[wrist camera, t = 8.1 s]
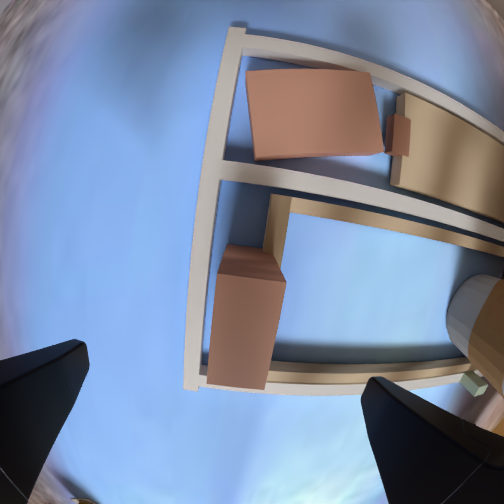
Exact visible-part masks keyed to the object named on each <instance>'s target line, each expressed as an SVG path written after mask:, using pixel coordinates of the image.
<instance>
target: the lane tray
mask: <svg viewBox="0 0 504 504" xmlns="http://www.w3.org/2000/svg"><path fill="white" fill-rule="evenodd" d="M242 56H249V57H257V58H264V59H271V60H277V61H283V62H289V63H294V64H299V65H304V66H308V67H313V68H317V69H330V70H347V71H359V72H368V73H370V75H371V80H372V84H373V85H376V86H378V87H381V88H384V89H387V90H389V91H392V92H395V93H397V94H400V95H402V94H403V93H408V94H410V95H412V96H415V97H417V98H419V99H421V100H424V101H426V102H428V103H430V104H432V105H434V106H436V107H438V108H440V109H442V110H444V111H446V112H448V113H450V114H452V115H454V116H456V117H458V118H459V119H461V120H463V121H465V122H466V123H468V124H470V125H472V126H473V127H475V128H477V129H478V130H480V131H482V132H483V133H485V134H486V135H488V136H489V137H491V138H493V139H494V140H496V141H497V142H498V143H500V144H501V145H503V146H504V131H502V130H501V129H499V128H498V127H497V126H495V125H494V124H492V123H491V122H489V121H488V120H486V119H485V118H483V117H482V116H480V115H479V114H477V113H476V112H474V111H473V110H471V109H469V108H468V107H466V106H464V105H463V104H461V103H459V102H457V101H456V100H454V99H452V98H450V97H448V96H447V95H445V94H443V93H441V92H439V91H437V90H435V89H433V88H431V87H429V86H427V85H425V84H423V83H421V82H419V81H417V80H414V79H412V78H410V77H408V76H405V75H403V74H401V73H398V72H396V71H393V70H391V69H388V68H386V67H383V66H380V65H378V64H375V63H372V62H369V61H366V60H363V59H360V58H357V57H354V56H351V55H347V54H344V53H341V52H337V51H333V50H330V49H326V48H322V47H318V46H313V45H309V44H304V43H300V42H295V41H289V40H284V39H278V38H272V37H265V36H257V35H248V34H246V28H240V27H229V29H228V33H227V38H226V42H225V46H224V51H223V55H222V59H221V64H220V69H219V73H218V78H217V83H216V88H215V93H214V98H213V104H212V109H211V114H210V120H209V126H208V132H207V138H206V144H205V150H204V156H203V163H202V170H201V177H200V184H199V191H198V199H197V207H196V215H195V224H194V232H193V242H192V252H191V262H190V273H189V285H188V299H187V313H186V330H185V352H184V384H183V389H186V390H191V391H198V389H199V386H200V387H207V388H214V389H222V390H231V391H240V392H251V393H263V394H279V395H311V396H329V395H360V394H362V393H363V391H364V389H365V386H366V384H367V382H358V383H303V382H281V381H266V385H265V389H264V390H257V389H246V388H236V387H227V386H219V385H212V384H206V382H207V370H208V366H207V365H201V363H202V349H203V337H204V325H205V314H206V303H207V293H208V283H209V274H210V265H211V256H212V247H213V239H214V231H215V223H216V215H217V207H218V200H219V192H220V185H221V180H226V181H234V182H241V183H248V184H255V185H262V186H269V187H275V188H282V189H288V190H294V191H300V192H305V193H311V194H316V195H322V196H327V197H332V198H337V199H342V200H347V201H352V202H357V203H362V204H366V205H371V206H375V207H380V208H384V209H388V210H392V211H397V212H401V213H405V214H409V215H413V216H417V217H421V218H424V219H428V220H432V221H436V222H439V223H443V224H446V225H450V226H453V227H457V228H460V229H464V230H467V231H470V232H473V233H477V234H480V235H483V236H486V237H489V238H492V239H495V240H498V241H501V242H504V229H503V228H500V227H498V226H495V225H493V224H490V223H487V222H485V221H482V220H479V219H477V218H474V217H471V216H468V215H465V214H462V213H459V212H456V211H454V210H450V209H447V208H444V207H441V206H438V205H435V204H432V203H428V202H425V201H422V200H418V199H415V198H411V197H408V196H404V195H401V194H397V193H393V192H389V191H386V190H382V189H378V188H374V187H370V186H365V185H361V184H357V183H353V182H348V181H344V180H339V179H334V178H330V177H325V176H320V175H315V174H309V173H304V172H299V171H293V170H287V169H281V168H275V167H269V166H262V165H256V164H249V163H241V162H234V161H225V160H224V158H225V151H226V145H227V139H228V132H229V126H230V120H231V114H232V108H233V103H234V97H235V91H236V86H237V81H238V75H239V70H240V65H241V60H242ZM481 377H483V375H482V374H481V373H480V372H479V371H478V369H474V370H469V371H464V372H458V373H452V374H446V375H439V376H432V377H424V378H415V379H405V380H394V381H391V382H393V383H395V384H397V385H399V386H400V387H402V388H404V389H406V390H414V389H421V388H428V387H434V386H440V385H446V384H451V383H456V382H460V383H461V384H462V385H463V386H464V387H465V388H466V389H467V390H468V391H469V392H470V393H471V394H472V395H473V396H474V397H475V396H478V395H481V394H484V392H485V390H486V388H487V387H488V384H487V383H486V382H485V381H484V380H483V379H482V378H481Z"/></svg>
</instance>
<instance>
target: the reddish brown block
mask: <svg viewBox="0 0 504 504" xmlns="http://www.w3.org/2000/svg"><path fill="white" fill-rule="evenodd" d="M245 85H246V93H247V102H248V110H249V119H250V127H251V136H252V145H253V154H254V161H265V160H276V159H290V158H305V157H327V156H370V155H374V154H377V153H381V152H384V148H383V140H382V133H381V127H380V120H379V115H378V109H377V104H376V98H375V93H374V89H373V84H372V80H371V75H370V73H368V72H359V71H347V70H330V69H271V70H255V71H246V83H245Z"/></svg>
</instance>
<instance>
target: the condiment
mask: <svg viewBox="0 0 504 504" xmlns="http://www.w3.org/2000/svg"><path fill="white" fill-rule="evenodd" d="M71 500H72V501H74V502H75V503H77V504H96V503H94V502H93V501H91V500H89V499H71Z"/></svg>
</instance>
